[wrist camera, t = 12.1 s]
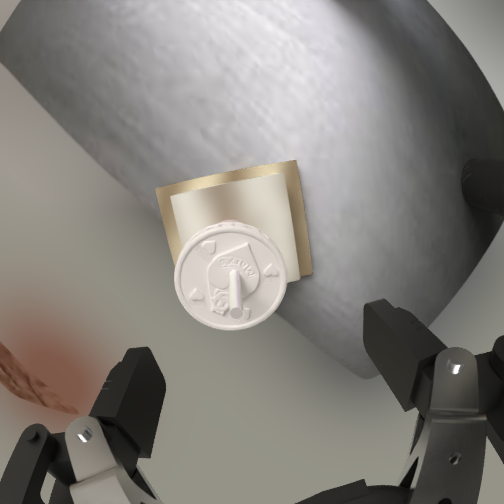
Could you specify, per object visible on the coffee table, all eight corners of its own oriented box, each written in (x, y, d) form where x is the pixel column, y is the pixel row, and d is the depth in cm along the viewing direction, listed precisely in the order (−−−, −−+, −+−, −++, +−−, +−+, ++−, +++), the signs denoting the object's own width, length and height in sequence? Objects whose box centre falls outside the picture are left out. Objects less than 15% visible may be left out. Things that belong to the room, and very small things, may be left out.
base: (293, 160, 27) (304, 158, 23) (309, 270, 30) (321, 284, 26) (158, 187, 26) (146, 190, 22) (186, 294, 30) (180, 312, 26)
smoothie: (278, 221, 24) (336, 282, 11) (249, 284, 25) (268, 394, 12) (210, 192, 23) (181, 220, 9) (184, 259, 24) (139, 354, 11)
